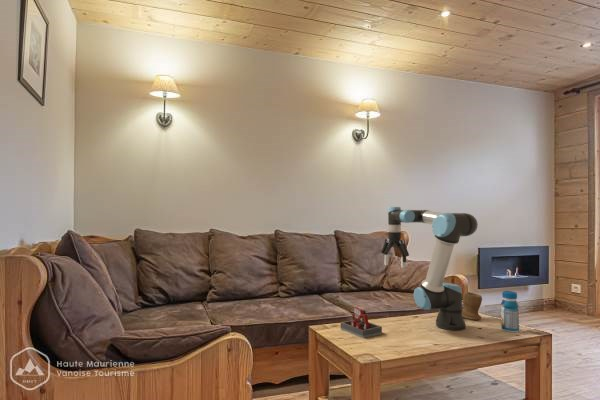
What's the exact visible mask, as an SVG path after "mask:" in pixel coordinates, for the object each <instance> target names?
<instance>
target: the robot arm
mask: <svg viewBox="0 0 600 400" xmlns="http://www.w3.org/2000/svg"><path fill="white" fill-rule="evenodd" d="M387 211H388V212H387V215H388V217H387V222H388V228H387V229H388V230H387V231H388V235H387V236H388V238H385V239H384V243H383V246H382V249H381V251H380V253H381V254H382V255H383V260H384V266H389V252H390V251H391V249H392V248H397V250H398V252H399V253H400V255H401V258H400V260H401V261H400V263H401V264H400V265H401V266H400V267H401V268H402V269H404V268H406V262H407V257H409V256H410V254H409V251H408V249H407V246H406V243H405V240H404V239H401V238H402V232H401V231H402V227H401V226H402V223H405V224H409V223H423V224H426V225H427V224H429V225H431V226H432V227H431V228H432V232H433V234H434V238H435V239H436V242H435V245H434V248H433V252H432V255H431V259H430V263H429V266H428V270H427V272H426V277H425V279H423V280H422V281H421V283H420V286H418V287H415V289H414V291H413V299H414V302H415V304H416V305H417V307H418V308H420V309H421V310H425V311H426V310H427V311H431V310H437V309H438V313H437V316H436V319H435V327H438V328H440V329H443V330H447V331H464V330H466V327H467V326H466V321H465V318H464V317H463V315H462V310H463V291H462V290H463V289H462V287H461V286H460V285H459V284H455V283H449V282H444V281H445V278H446V277H445V276H446V274H447V270H448V267H449V264H450V260H451V257H452V253H453V251H454V247H455V245H457V244H459V242H460V239H461V237H468V236H469V237H470V236H471V235H473V234H474V233H476V231H477V229H478V225H479V223H478V220H477V218H476V217H475V216H474V215H472V214H470V213H468V212H467V213H466V212H464V213H463V212H461V213H459V212H437V211H432V210H429V209H402V208H401V207H400V206H389V207H388V209H387Z"/></svg>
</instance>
